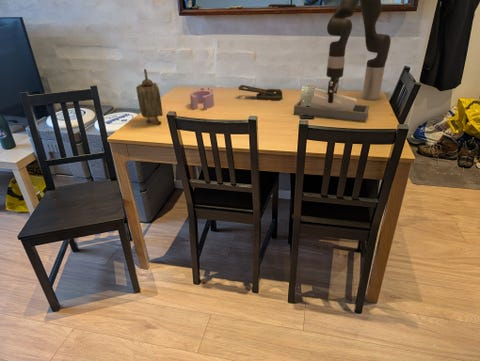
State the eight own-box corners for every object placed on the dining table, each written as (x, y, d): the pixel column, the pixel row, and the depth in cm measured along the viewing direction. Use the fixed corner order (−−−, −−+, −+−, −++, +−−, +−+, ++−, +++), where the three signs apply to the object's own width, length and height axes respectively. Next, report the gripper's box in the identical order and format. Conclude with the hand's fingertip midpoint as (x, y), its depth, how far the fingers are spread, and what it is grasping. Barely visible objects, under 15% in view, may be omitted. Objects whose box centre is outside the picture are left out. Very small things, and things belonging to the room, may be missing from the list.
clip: (196, 99, 203) (195, 87, 199) (217, 99, 201) (217, 87, 198) (188, 110, 185) (187, 97, 182) (211, 110, 184) (210, 97, 181)
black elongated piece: (240, 84, 204) (283, 85, 199) (240, 95, 207) (283, 96, 202) (237, 88, 196) (281, 89, 191) (237, 99, 199) (281, 101, 194)
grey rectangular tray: (300, 107, 183) (300, 99, 181) (367, 114, 171) (369, 105, 169) (293, 114, 174) (294, 105, 172) (364, 122, 161) (366, 113, 159)
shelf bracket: (300, 108, 179) (306, 84, 172) (348, 122, 174) (357, 98, 167) (298, 111, 174) (304, 87, 168) (347, 126, 169) (356, 101, 163)
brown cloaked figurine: (164, 125, 165) (156, 71, 153) (145, 128, 163) (135, 73, 150) (159, 116, 177) (152, 65, 165) (141, 118, 174) (132, 67, 162)
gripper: (341, 69, 154) (337, 105, 162) (346, 63, 165) (342, 97, 173) (324, 68, 157) (321, 103, 165) (330, 62, 168) (327, 95, 176)
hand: (332, 100), depth 169 cm, fingers open, 8 cm apart
